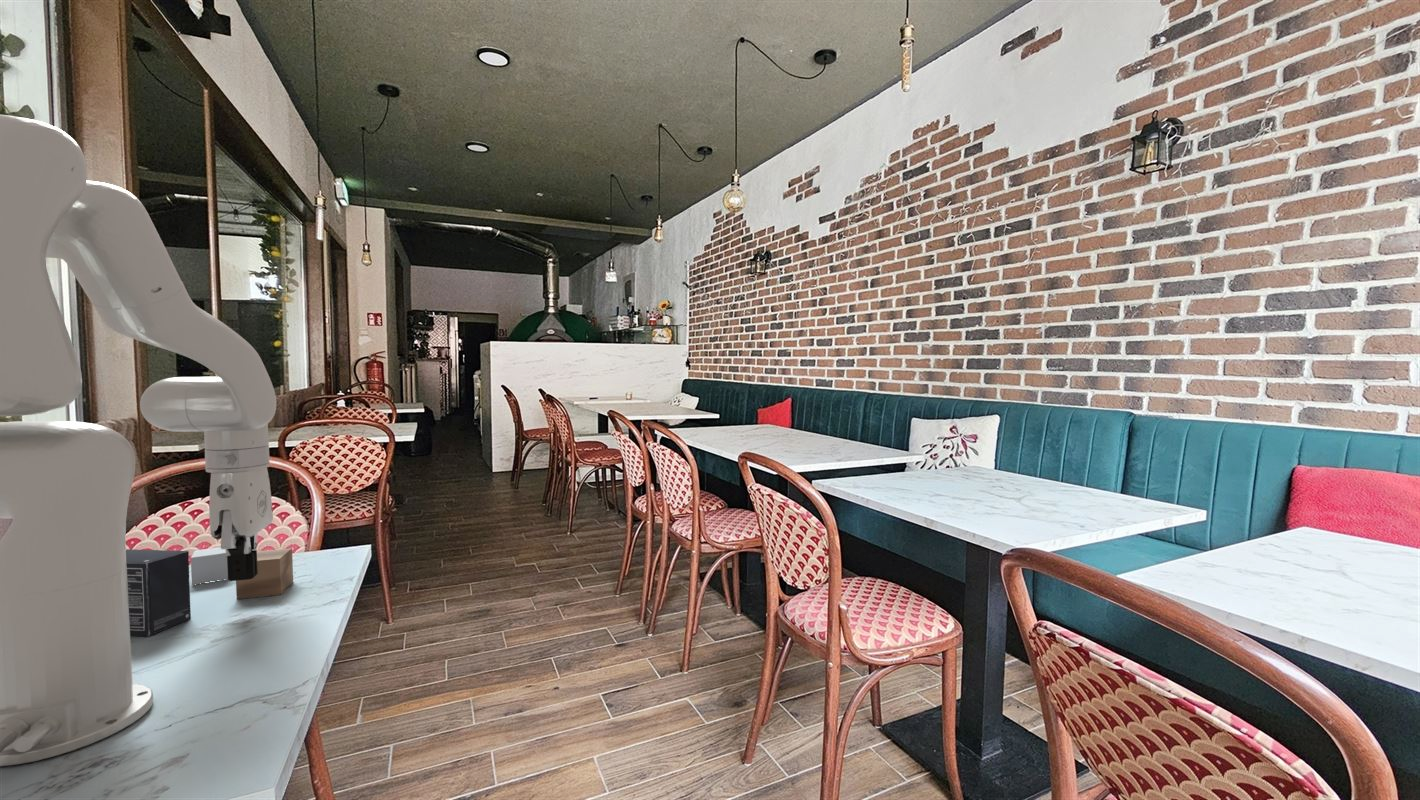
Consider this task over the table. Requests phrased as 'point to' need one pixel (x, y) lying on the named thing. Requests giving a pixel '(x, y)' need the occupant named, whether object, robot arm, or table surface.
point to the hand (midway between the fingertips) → (243, 578)
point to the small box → (157, 590)
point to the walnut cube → (268, 575)
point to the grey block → (209, 565)
